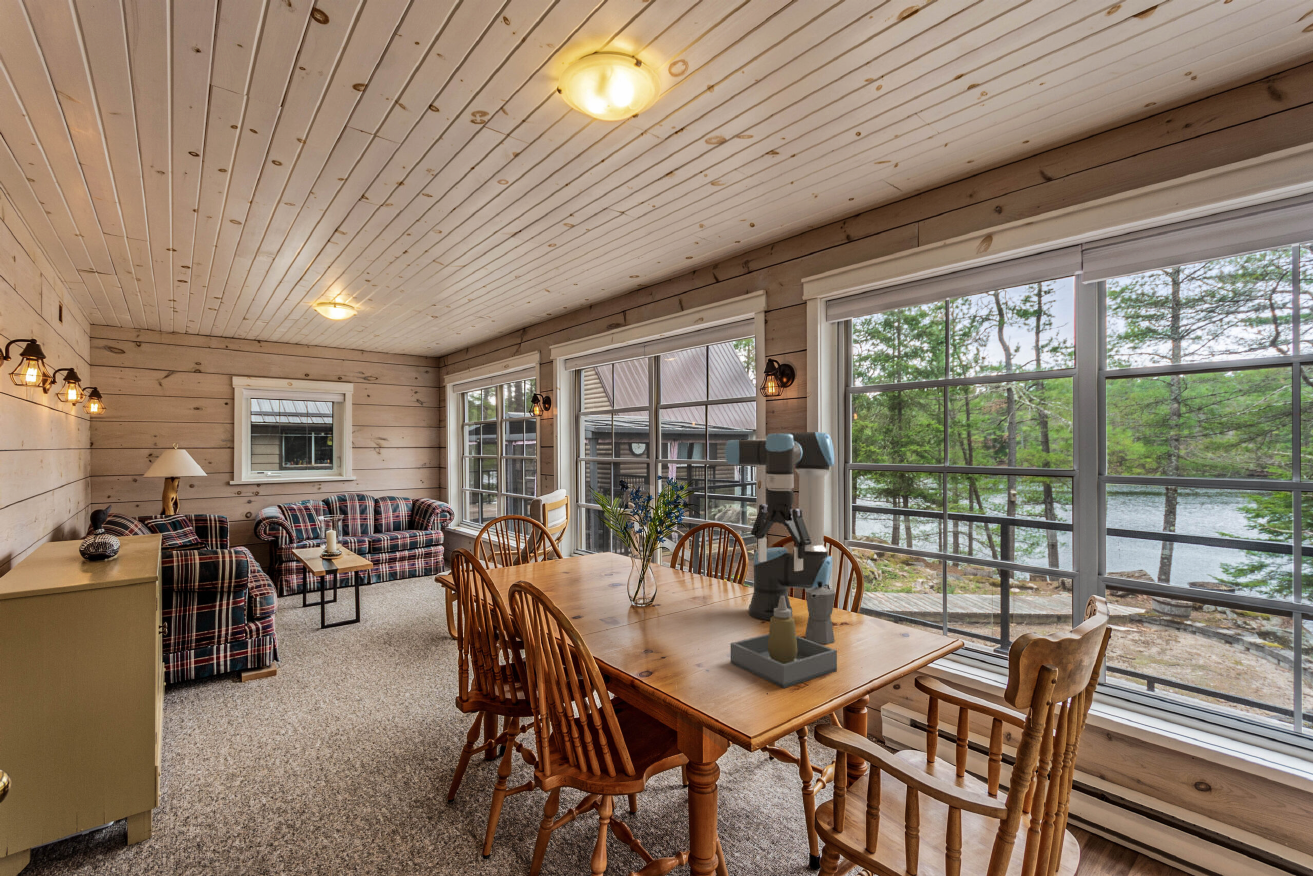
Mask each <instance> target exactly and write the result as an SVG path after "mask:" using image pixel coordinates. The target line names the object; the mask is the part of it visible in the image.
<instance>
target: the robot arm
mask: <svg viewBox="0 0 1313 876" xmlns="http://www.w3.org/2000/svg"><path fill="white" fill-rule="evenodd" d="M724 458H725V461H726V463H727V464H729V465H732V466H733V465H735V466H765V487H766V488H767V489H766V491H765V502H766V503H763V504H759V506H758V512H757V515H756V518H755V522H754V524H753V526H752V528H751V532H750V533H751V535H752V536H754V537H755V538H756V549H757V551H755V552H754V555H753V556H754V557H753V594H752V596H751V601H750V604H749V605H748V615H749V614H750V615H749V616H751V617H752V616H753V617H752V618H756V619H759V620H764V621H770V618H771V617H773V616H774V609H775V608H778V604H779V599H780V596H785V601H786V606H787V608H788V609H790V610H791V617H792V618H793V608H792V606H791V603H790V599H789V596H788V588H796V589H804V590H805V589H807V588H812V587H818V583H817V582H818V581H821V582H823V583H822V586H825V585H826V584H827V585H829V584H830V582H831V581H830V580H831V577H832V572H833V571H832V570H833V564H834V563H833V562H834V560H833V556H831V555H829V551H828V549H827V548H826V547H825V546H824V540H825V539H824V535H825V534H824V533H825V531H824V528H825V527H824V526H825V525H824V524H825V485H826V484H825V480H826V479H825V478H826V475H827V474H828V473H829V472H830V467H833V466H834V465H835V450H834V445H833V441H832V438H831V436H830V434H829V433H826V432H820V431H819V432H818V431H815V432H811V431H809V432H782V433H769V434H767V435H765V436H763V437H761V438H757V439H756V438H755V439H731V440H727V442H726V444H725V446H724ZM794 467H795V469H794ZM794 470H795V471H794ZM794 472H796V473H797V474H798V476H799V477H798V478H799V484H798V485H799V486H798V487H799V488H798V490H799V491H798V508H793V503H795V502H794V501H795V498H794V496H795V495H794V494H795V493H794V490H792V489H793V488H795V484H794V483H795V481H794V480H795V479H794V477H795V476H794ZM775 523H777V524H780V525H781V524H782V525H783V526H784V527H785V528H786V529H787V531H788V533H789V535H790V536H791V538H792V540H793V541H794V543H795V545H794V546H793V548H792V549H793V550H792V552H789V551H788V549H787V547H767V546H768V545H767V544H768V543H767V542H768V541H767V540H768V539H767V537H766V535H767V533H769V530H771V527H772V526H773V525H774V524H775Z"/></svg>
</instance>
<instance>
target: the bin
mask: <svg viewBox="0 0 1313 876" xmlns="http://www.w3.org/2000/svg"><path fill="white" fill-rule="evenodd" d="M768 639H769V633H766V634H762V635H758V636H755V637H750V638H747V639H742V640H738V641H734V642H730V664H731V663H732V665H733V664H734V665H733V666H735V667H738V668H739V669H742V670H744V671H746V670H747V671H746V672H748V671H749V673H750V672H751V674H752V673H753V675H754V674H755V676H757V677H759V678H761V679H763V680H765V681H767V682H769V683H771V682H772V684H773V683H774V685H775V684H776V686H777V687H780V688H782V689H787V688H789V686H790V687H793V686H795V685H799V684H802V683H804V682H808V681H811V680H813V679H817V678H820V677H823V676H826V674H827V675H829V673H830V674H832V672H833V673H836V672H837V671H838V650H837V649H834V648H831V647H829V646H826V645H824V644H818V643H815V642H812V641H810V640H807V639H806V638H803V637H801V636H798V635H796V639H797V649H798V652H797V655H796V657H795V660H794V661H793V662H789V663H786V664H782V663H780V662H777V661H775V660H773V659H771V658H770V655H769V652H768ZM822 675H823V676H822ZM819 676H820V677H819ZM786 687H787V688H786Z"/></svg>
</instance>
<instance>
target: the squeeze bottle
mask: <svg viewBox="0 0 1313 876" xmlns="http://www.w3.org/2000/svg"><path fill="white" fill-rule="evenodd" d="M769 621H770V622H769V629H768V634H769V639H768V652H769V655H770V658H771V659H773V660H775V661H777V662H780V663H782V664H786V663H789V662H793V661H794V660H795V657H796V655H797V652H798V649H797V639H796V636H797V633H796V630H797V629H796V623H795V618H793V616H792V617H791V610H790V609H788V608H787V606H786V601H785V596H780V599H779V604H778V608H775V609H774V616H773V617H771V618H770V620H769Z"/></svg>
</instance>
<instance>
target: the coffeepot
mask: <svg viewBox="0 0 1313 876" xmlns="http://www.w3.org/2000/svg"><path fill="white" fill-rule="evenodd" d="M817 583H818V587H812V588H807V589H804V592H805V600H806V606H807V613H808V617H807V623H806V629H805V635H804V637H805V638H804V639H807V640H810V641H812V642H815V643H818V644H820V645H830V644H829V643H831V644H834V642H835V633H834V629H833V622H832V614H833V610H834V603H835V596H836V593H835V590H834V589H831V587H830V585H829V584H828V585H827V584H826V585H825V586H822V583H823V582H821V581H818V582H817Z"/></svg>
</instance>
